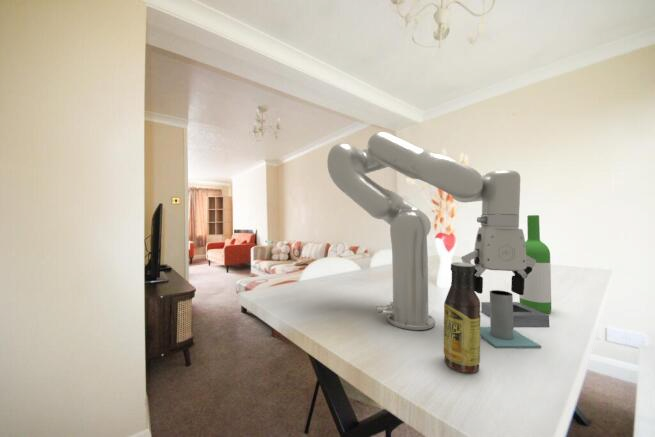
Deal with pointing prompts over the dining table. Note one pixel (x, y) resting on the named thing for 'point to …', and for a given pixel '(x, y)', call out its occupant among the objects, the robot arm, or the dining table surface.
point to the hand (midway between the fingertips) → (497, 292)
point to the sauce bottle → (462, 321)
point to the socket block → (523, 315)
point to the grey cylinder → (501, 314)
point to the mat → (516, 342)
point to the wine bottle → (537, 270)
